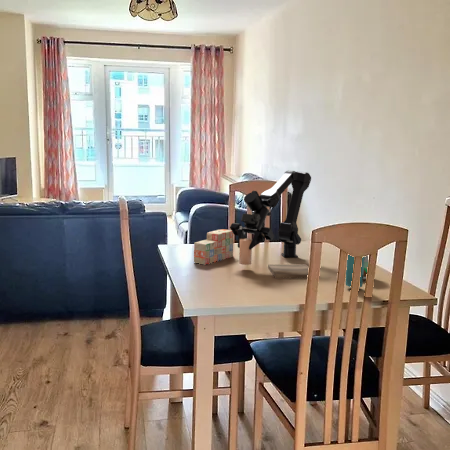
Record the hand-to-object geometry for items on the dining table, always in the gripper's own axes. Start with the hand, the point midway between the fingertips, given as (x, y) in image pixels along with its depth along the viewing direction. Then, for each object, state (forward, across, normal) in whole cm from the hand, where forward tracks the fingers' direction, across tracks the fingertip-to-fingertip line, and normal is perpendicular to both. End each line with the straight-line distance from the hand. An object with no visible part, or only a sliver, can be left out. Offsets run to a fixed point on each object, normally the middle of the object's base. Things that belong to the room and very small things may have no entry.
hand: (243, 248), depth 215 cm
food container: (-7, +45, +21) cm, 50 cm away
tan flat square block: (+1, +18, +12) cm, 22 cm away
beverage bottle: (+5, +46, +8) cm, 47 cm away
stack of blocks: (+2, -20, +12) cm, 23 cm away
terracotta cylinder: (+4, 0, +6) cm, 7 cm away
